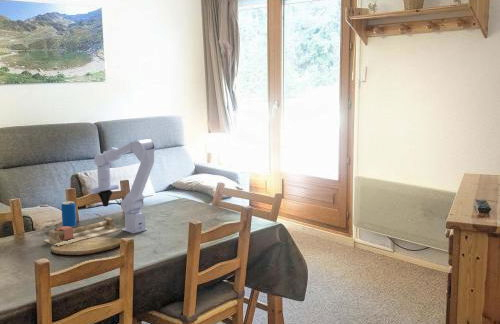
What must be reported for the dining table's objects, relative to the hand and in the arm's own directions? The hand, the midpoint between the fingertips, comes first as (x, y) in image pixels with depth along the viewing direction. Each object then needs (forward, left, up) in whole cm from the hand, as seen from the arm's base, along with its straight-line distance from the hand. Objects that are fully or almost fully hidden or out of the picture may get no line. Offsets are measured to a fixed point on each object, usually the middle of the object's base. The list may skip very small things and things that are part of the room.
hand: (105, 206), depth 239 cm
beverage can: (+13, +12, -10) cm, 20 cm away
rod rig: (-6, +16, -10) cm, 20 cm away
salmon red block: (-5, +24, -9) cm, 26 cm away
